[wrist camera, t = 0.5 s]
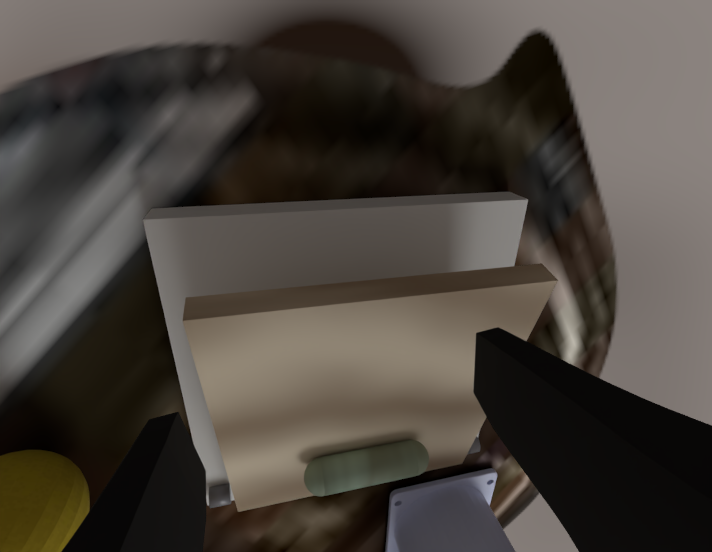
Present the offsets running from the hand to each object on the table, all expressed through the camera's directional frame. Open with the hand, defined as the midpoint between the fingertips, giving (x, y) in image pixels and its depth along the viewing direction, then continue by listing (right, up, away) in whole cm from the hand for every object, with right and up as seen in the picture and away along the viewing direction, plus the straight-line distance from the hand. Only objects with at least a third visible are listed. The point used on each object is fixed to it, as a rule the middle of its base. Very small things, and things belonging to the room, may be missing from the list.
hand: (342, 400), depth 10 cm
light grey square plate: (0, -1, +11) cm, 11 cm away
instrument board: (+1, -3, +8) cm, 9 cm away
